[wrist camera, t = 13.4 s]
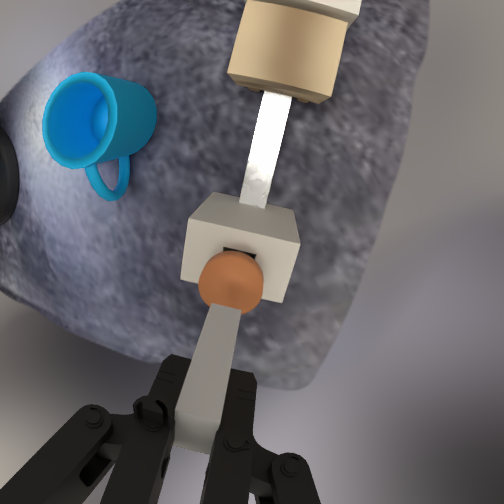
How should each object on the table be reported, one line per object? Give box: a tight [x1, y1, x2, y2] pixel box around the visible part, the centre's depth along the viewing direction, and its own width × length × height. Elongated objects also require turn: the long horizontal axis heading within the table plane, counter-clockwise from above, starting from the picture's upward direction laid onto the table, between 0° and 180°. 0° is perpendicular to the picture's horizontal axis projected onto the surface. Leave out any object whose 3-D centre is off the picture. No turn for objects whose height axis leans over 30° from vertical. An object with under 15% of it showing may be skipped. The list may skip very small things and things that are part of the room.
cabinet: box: [180, 192, 300, 303], centre depth 26 cm, size 8×5×9 cm, turn 77°
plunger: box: [198, 249, 264, 314], centre depth 21 cm, size 4×4×5 cm
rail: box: [239, 91, 292, 209], centre depth 25 cm, size 2×17×2 cm, turn 167°
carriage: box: [227, 0, 348, 104], centre depth 20 cm, size 7×6×8 cm
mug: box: [42, 72, 157, 201], centre depth 23 cm, size 12×8×8 cm
